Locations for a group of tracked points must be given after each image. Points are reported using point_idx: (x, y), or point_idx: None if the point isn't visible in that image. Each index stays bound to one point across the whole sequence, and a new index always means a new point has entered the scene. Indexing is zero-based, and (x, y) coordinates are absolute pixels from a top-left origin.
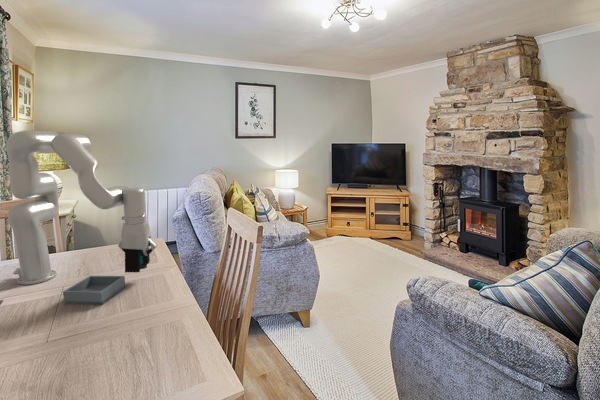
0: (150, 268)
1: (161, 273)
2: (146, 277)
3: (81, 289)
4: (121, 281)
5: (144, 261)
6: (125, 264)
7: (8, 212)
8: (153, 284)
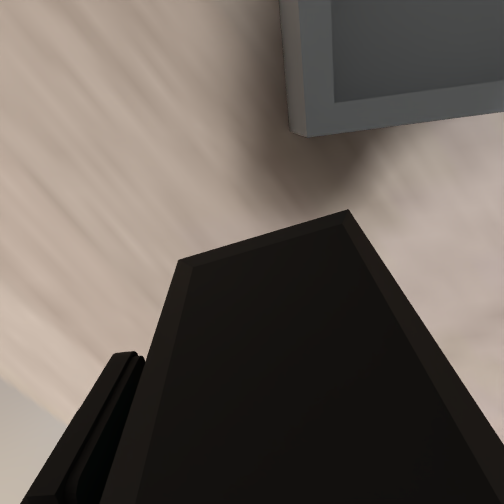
0: None
1: None
2: None
3: None
4: (294, 58)
5: (89, 397)
6: (377, 271)
7: None
8: (83, 229)
